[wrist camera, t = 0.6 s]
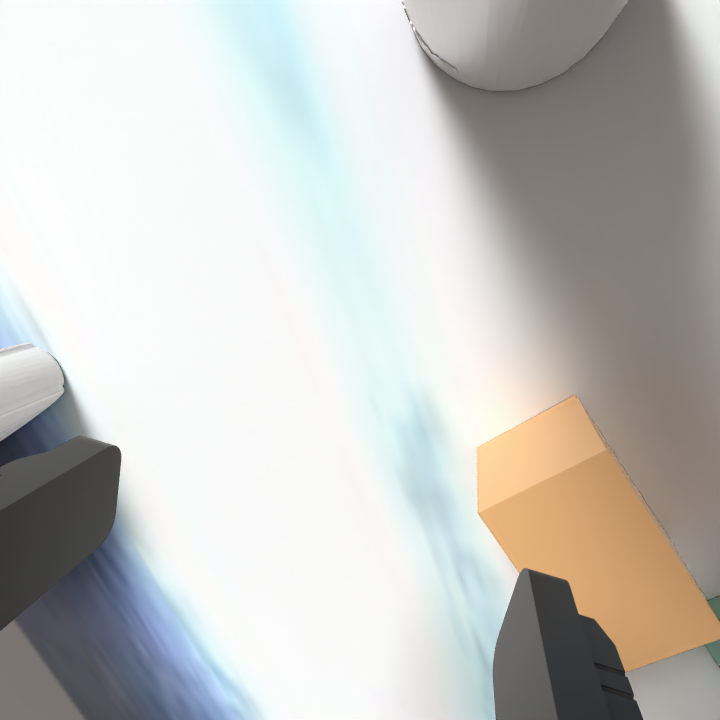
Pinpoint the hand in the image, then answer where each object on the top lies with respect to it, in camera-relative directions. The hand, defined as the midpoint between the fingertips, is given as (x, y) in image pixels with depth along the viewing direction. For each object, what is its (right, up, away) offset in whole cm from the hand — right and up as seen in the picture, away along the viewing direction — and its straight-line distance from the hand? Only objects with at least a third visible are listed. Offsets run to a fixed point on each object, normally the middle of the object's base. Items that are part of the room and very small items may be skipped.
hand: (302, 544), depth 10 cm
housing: (+12, -3, +17) cm, 21 cm away
